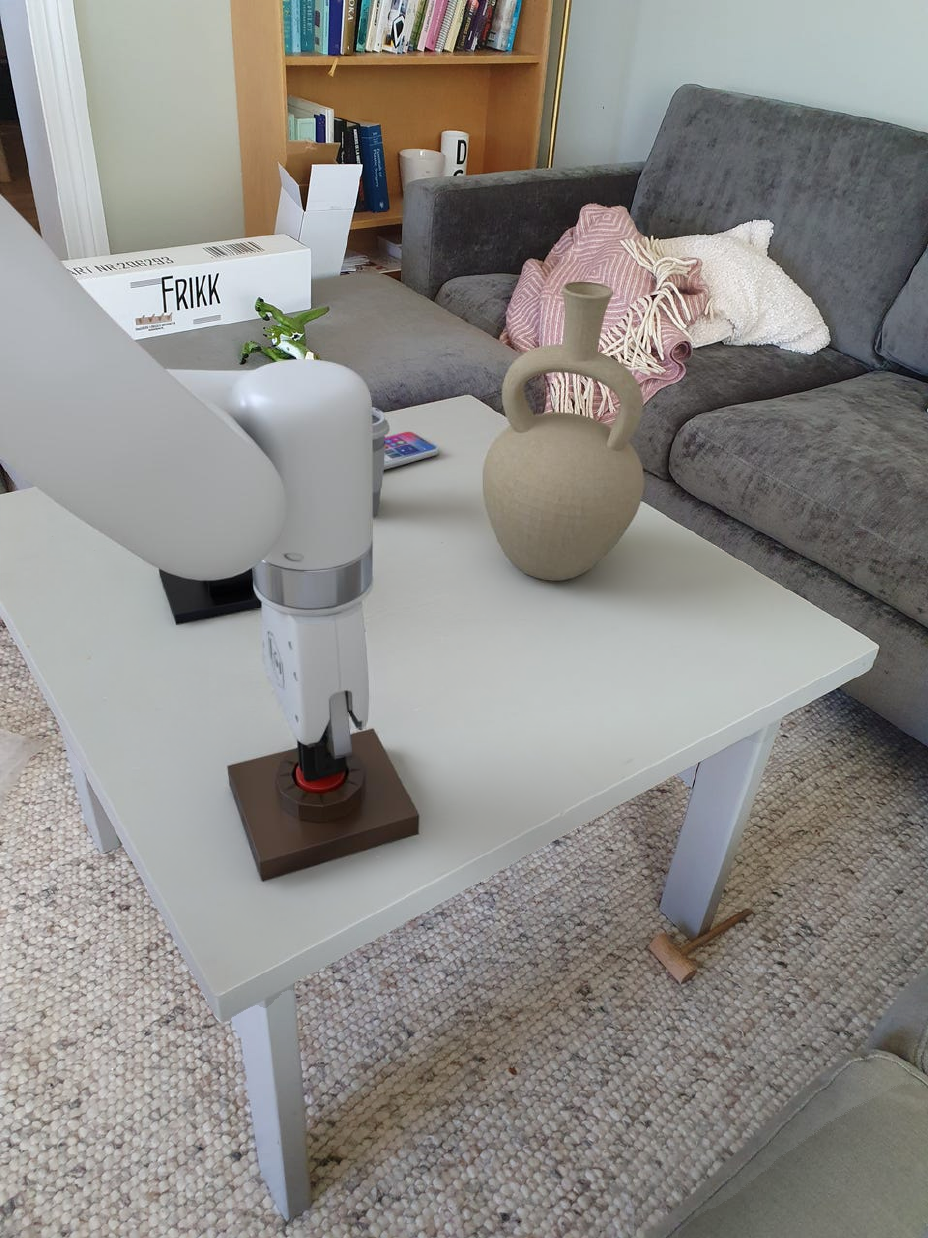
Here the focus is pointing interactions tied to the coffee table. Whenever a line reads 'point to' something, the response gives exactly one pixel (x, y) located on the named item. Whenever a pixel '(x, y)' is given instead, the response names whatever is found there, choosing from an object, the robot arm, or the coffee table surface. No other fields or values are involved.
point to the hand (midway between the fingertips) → (322, 769)
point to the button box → (320, 808)
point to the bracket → (209, 596)
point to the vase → (565, 455)
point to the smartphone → (406, 449)
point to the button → (320, 783)
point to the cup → (378, 454)
